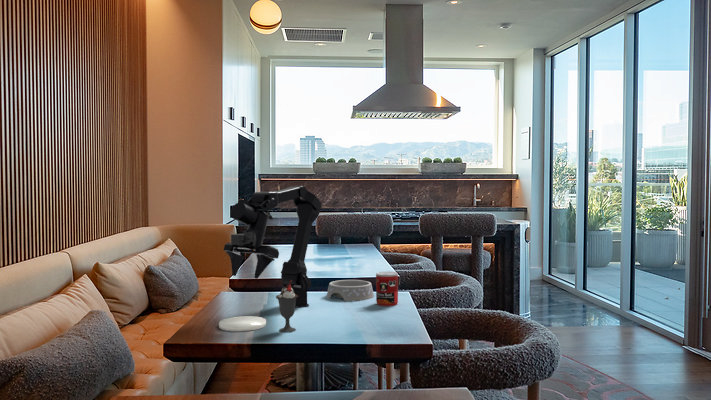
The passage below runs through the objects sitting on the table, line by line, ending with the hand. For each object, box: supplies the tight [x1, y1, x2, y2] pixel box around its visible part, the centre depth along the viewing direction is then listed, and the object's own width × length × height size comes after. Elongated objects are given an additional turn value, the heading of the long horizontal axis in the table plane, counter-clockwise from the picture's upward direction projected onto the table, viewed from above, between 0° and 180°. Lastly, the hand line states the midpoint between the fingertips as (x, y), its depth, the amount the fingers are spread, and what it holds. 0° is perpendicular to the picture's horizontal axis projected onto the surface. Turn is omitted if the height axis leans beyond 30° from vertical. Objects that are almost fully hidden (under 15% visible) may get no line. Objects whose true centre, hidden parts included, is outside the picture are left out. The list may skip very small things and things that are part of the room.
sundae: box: [275, 280, 299, 333], centre depth 168 cm, size 7×7×15 cm
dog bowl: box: [326, 279, 375, 302], centre depth 218 cm, size 17×18×5 cm
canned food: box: [375, 271, 399, 307], centre depth 204 cm, size 8×8×11 cm
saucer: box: [218, 315, 267, 332], centre depth 174 cm, size 14×14×1 cm
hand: (244, 277), depth 179 cm, fingers open, 9 cm apart
